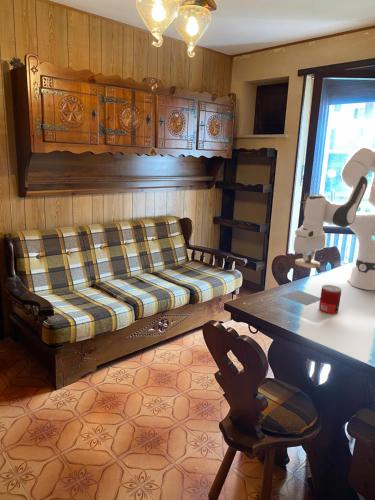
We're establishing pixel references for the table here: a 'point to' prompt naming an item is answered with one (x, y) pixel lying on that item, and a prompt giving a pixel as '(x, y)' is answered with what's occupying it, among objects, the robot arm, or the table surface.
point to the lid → (308, 262)
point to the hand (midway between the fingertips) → (308, 259)
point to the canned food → (330, 299)
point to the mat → (301, 297)
